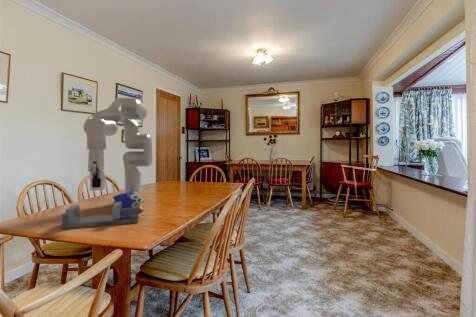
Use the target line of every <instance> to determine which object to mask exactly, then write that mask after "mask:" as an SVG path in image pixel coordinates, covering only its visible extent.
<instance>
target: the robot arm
mask: <svg viewBox="0 0 476 317" xmlns="http://www.w3.org/2000/svg"><path fill="white" fill-rule="evenodd" d="M147 115H148V112H147V108H146V106H145V105H144V104H143V102H141V100H139V99H137V98H133V97H132V98H131V97H120V98H116V99H114V100H113V101H112V103H111V104H109V106H108V107H107V108H105V109H101V110H99V111H97V112H94V113H92V114H91V115H89V116H88V117H87V119H86V120H85V121H84V123H83V132H84V133H85V134H86V150H88V163H87V165H88V168H87V170H88V172H89V173H90V172H92V187H93V188H99V187H100V171H104V169H105V154H104V150H107V142H106V141H107V137H110V136H115V135H116V134H117V132H118V125H117V123H119V122H121V123H122V125H123V130H124V133H123V134H124V145H125V146H124V147H125V148H126V149H128V150H131V151H126V152H124V153H123V155H122V162H123V167H124V169H123V170H124V193H127V192H137V193H138V194H139V195H140V197H141V203H142V202H144V201H145V199H144V197H142V173H141V171H140V169H139V168H138V167H151V165H152V164H153V141H152V137H151V135H150V134H148V133H140V127H139V124H138V122H137V121H138V120H145V119H146V118H147ZM136 120H137V121H136ZM137 150H142V151H137Z"/></svg>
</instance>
